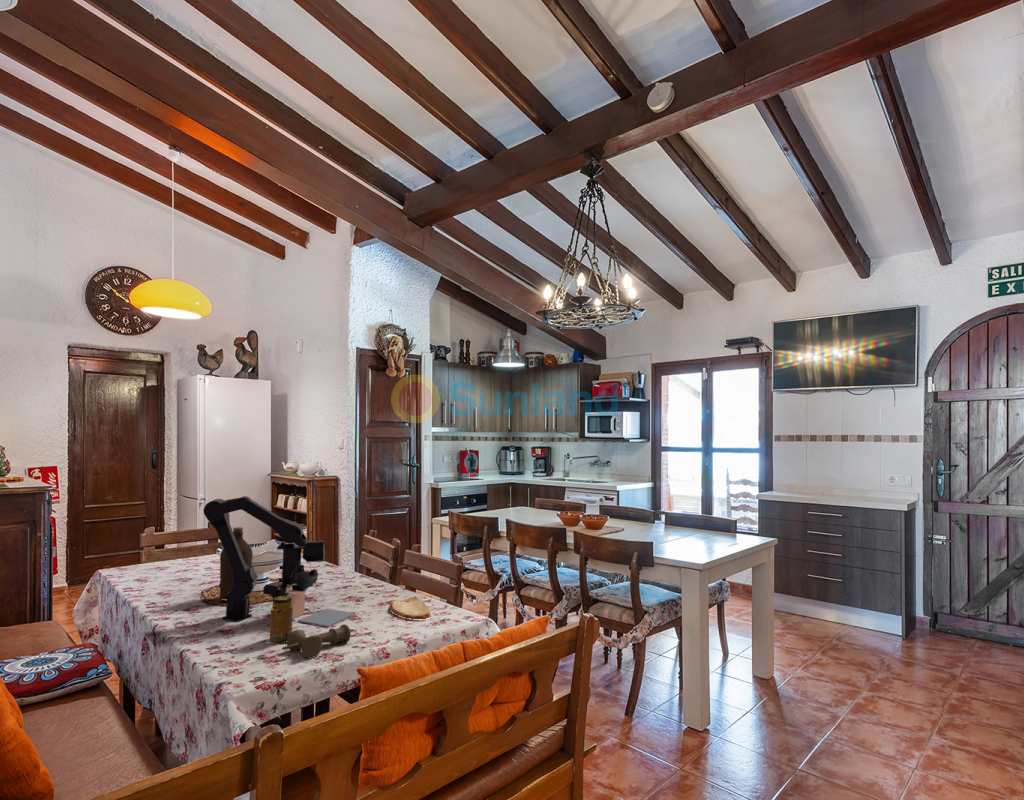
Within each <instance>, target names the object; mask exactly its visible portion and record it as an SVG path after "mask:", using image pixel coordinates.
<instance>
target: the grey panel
mask: <svg viewBox="0 0 1024 800" xmlns="http://www.w3.org/2000/svg"><path fill="white" fill-rule="evenodd" d="M355 614H356V615H357V613H356V612H352V611H343V610H337V609H331V608H325V609H321V610H320V611H317V612H314V613H313V614H310V615H308V616H305V617H302V618H300V619H298V620H297V623H300V622H302V623H301V624H306V623H309V624H308V625H311V624H315V625H314V626H317V625H321V626H320V627H323V626H326V627H325V628H328V627H329V626H331V627H333V626H335V625H337V624H339V623H338V622H340V621H342V622H344V621H345V619H346V620H348V619H350V618H352V617H351V616H353V615H355ZM356 615H355V616H356ZM349 617H350V618H349ZM353 617H354V616H353ZM347 618H348V619H347ZM343 620H344V621H343ZM336 623H337V624H336ZM340 623H341V622H340ZM334 624H335V625H334ZM332 625H333V626H332ZM329 628H330V627H329Z"/></svg>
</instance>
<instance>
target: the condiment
mask: <svg viewBox="0 0 1024 800" xmlns="http://www.w3.org/2000/svg"><path fill="white" fill-rule="evenodd" d="M271 606H272V607H271V608H270V621H269V622H270V623H269V638H268V640H266V641H265V642H264V644H265V645H266V644H268V645H269V644H270V645H273V644H274V645H275V644H276V645H278V644H285V643H284V642H286V641H287V638H288V636H289V634H290V633H291V632H293V618H292V616H293V606H292V597H290V596H278V597H275V598H274V599H273V598H272V605H271Z"/></svg>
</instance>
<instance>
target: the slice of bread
mask: <svg viewBox="0 0 1024 800" xmlns="http://www.w3.org/2000/svg"><path fill="white" fill-rule="evenodd" d="M388 607H389V608H390V610H391V611H392V612H393V613H394V614H397V615H400V616H402V617H405V618H411V619H426V618H429V617H431V618H432V616H431V611H430V609H429V608H428V606H427V605H426V603H425V602H424V601H422V599H420V598H419V597H417V596H416V595H415V596H413V597H409V598H405V599H403V600H399V601H397V600H394V599H393V600H391V603H390V605H388ZM389 608H388V609H389ZM390 610H389V611H390Z"/></svg>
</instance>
